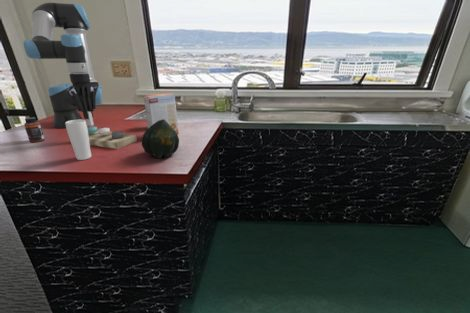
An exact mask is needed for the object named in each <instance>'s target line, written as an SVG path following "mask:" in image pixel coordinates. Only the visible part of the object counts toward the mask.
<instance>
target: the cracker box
mask: <svg viewBox="0 0 470 313" xmlns="http://www.w3.org/2000/svg"><path fill="white" fill-rule="evenodd" d="M143 103H144V110H145V115H146V123H147V129H148V128H149V127H150V126H152V125H153V124H154V123H156V122H157V121H159V120H163V119H164V120H165V121H166V122H167V123H168V124H169V125H170V126H171V127H172V128H173V129H174V130H175V131H176V133H177V135H179V127H178V126H179V123H178V115H177V114H178V113H177V107H176V96H175V93H172V92H167V93H158V94H157V93H156V94H147V95H143Z"/></svg>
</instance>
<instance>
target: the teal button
mask: <svg viewBox="0 0 470 313" xmlns="http://www.w3.org/2000/svg"><path fill="white" fill-rule="evenodd" d="M87 129H88V133H95V132H97V131H98V129H99V128H98V126H95V125H92V126H87Z"/></svg>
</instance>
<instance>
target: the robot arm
mask: <svg viewBox="0 0 470 313" xmlns="http://www.w3.org/2000/svg"><path fill="white" fill-rule="evenodd" d="M31 13H32V14H31V21H32V22H33V26H32V32H31V33H32V35H31V39H25V40H24V39H23V40H24V41H23V48H24V51H25V54H26V56H27V57H28V58H30V59H34V60H49V59H51V60H55V59H56V60H57V59H60V60H63V59H64V60H65V62H66V66H67V71H68V72H67V73H70V74H69V79H70V82H71V83H61V84H55V85H51V86H49V87H48V88H47V92H48V97H49V99H50V100H49V101H50V102H51V107H52V110H53V120H52V121H53V122H52V124H53V127H54V128H55V129H66V124H65V122H67V121H70V120H79V119H82V120H85V121H86V124H87V126H88V127H90V126H95V123H94V113H93V112H94V110H96V106H99V105H102V103H103V90H102V89H103V88H102V85H101V84H99V81H98V80H96V79H95V74H94V69H93V65H92V59H91V55H90V50H89V46H88V45H89V44H88V40H87V35H88V33H89V30H90V29H91V26H90V22H89V19H88V16H87V14H86V10H85V8H84V6H83V5H81V4H75V3H61V2H60V3H58V2H51V1H50V2H45V3H44V2H43V3H41V4H40V5H38V6H37V7H35V9H33V10H32V12H31ZM54 28H62V29H63V31H64V32H65V33H66V34H65V33H64V34H62V33H61V35H60V40H54V38H53V36H54V34H53V32H54ZM80 112H82V114H83V118H82V116H81V114H80Z"/></svg>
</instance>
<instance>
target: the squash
mask: <svg viewBox="0 0 470 313" xmlns="http://www.w3.org/2000/svg"><path fill="white" fill-rule="evenodd" d="M178 135H179V134H177V133H176V131H175V130H174V129H173V128H172V127H171V126H170V125H169V124H168V123H167V122H166V121H165V120H164V119H163V120H159V121H157V122H156V123H154V124H153V125H152V126H150V127H149V128H148V127H147V129H146V130H145V131H144V133H143V134H142V137H141V147H142V148H143V150H144V152H145V153H147V154H148V155H151V156H154V157H155V158H156V159H161V158H163V157H165V158H166V157H169V156H171V154H174V153H175V152H177V151H178V148H179V145H180V139H179V136H178Z"/></svg>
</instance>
